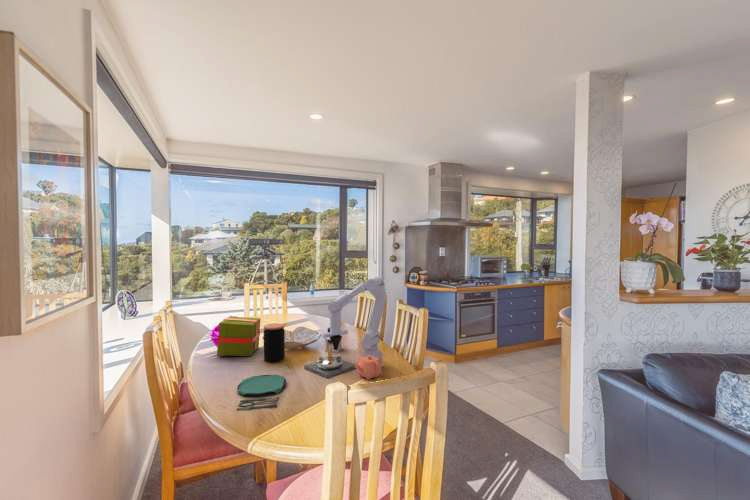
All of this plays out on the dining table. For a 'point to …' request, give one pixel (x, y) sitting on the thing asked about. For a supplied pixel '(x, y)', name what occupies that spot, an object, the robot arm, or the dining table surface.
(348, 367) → the base plate
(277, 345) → the coffee jar
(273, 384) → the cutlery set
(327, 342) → the container
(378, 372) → the pumpkin
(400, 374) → the dining table surface
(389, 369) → the dining table surface
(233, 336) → the gift box
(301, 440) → the dining table surface
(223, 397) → the dining table surface
